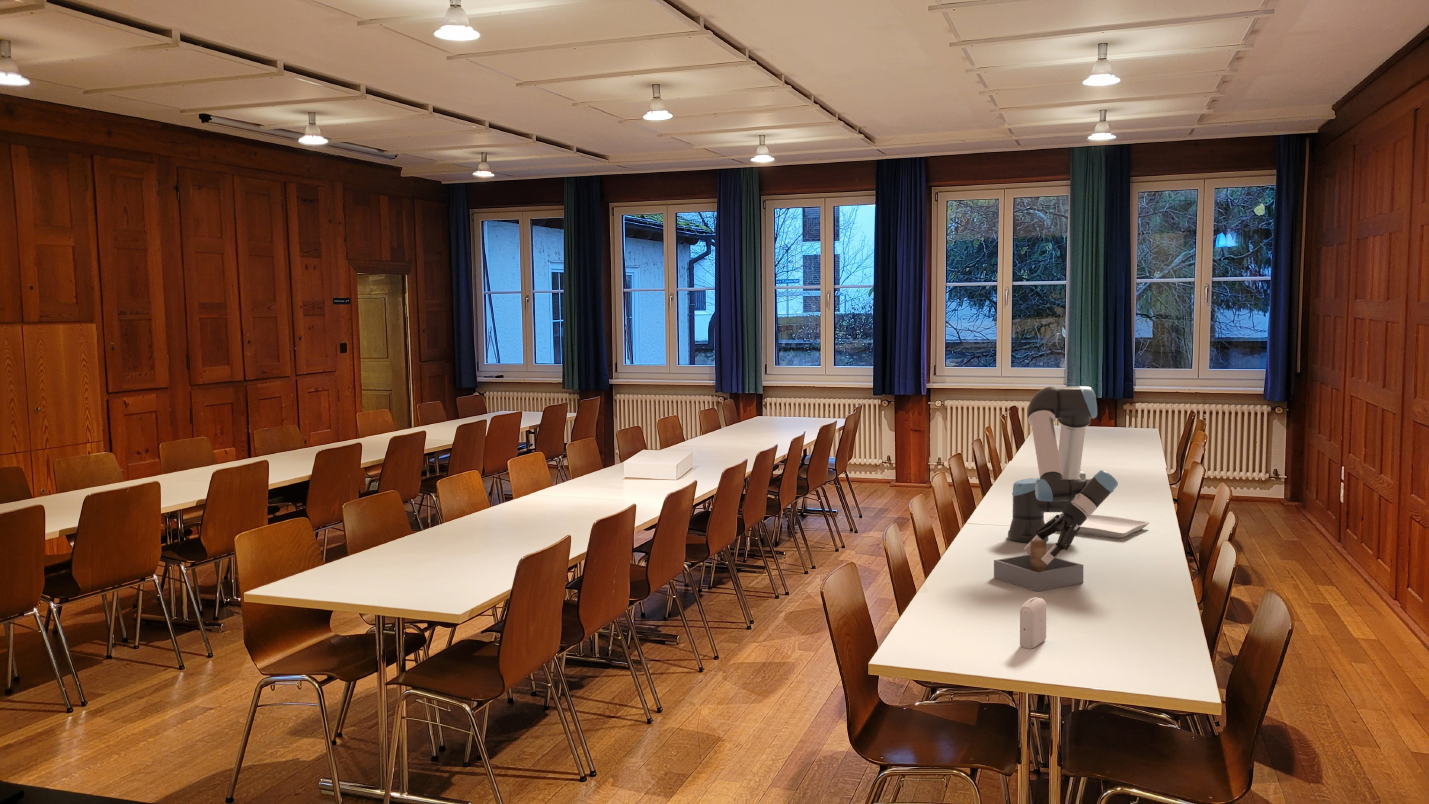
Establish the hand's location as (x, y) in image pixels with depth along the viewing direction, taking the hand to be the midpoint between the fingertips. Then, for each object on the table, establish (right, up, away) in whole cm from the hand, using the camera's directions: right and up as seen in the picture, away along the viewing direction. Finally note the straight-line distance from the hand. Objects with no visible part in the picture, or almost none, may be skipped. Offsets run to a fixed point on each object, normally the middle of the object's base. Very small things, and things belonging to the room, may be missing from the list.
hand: (1035, 556), depth 339 cm
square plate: (+49, -1, +71) cm, 86 cm away
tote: (+1, -8, +1) cm, 8 cm away
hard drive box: (+47, +2, +98) cm, 108 cm away
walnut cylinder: (+1, -7, +1) cm, 7 cm away
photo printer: (-20, -14, -61) cm, 66 cm away
